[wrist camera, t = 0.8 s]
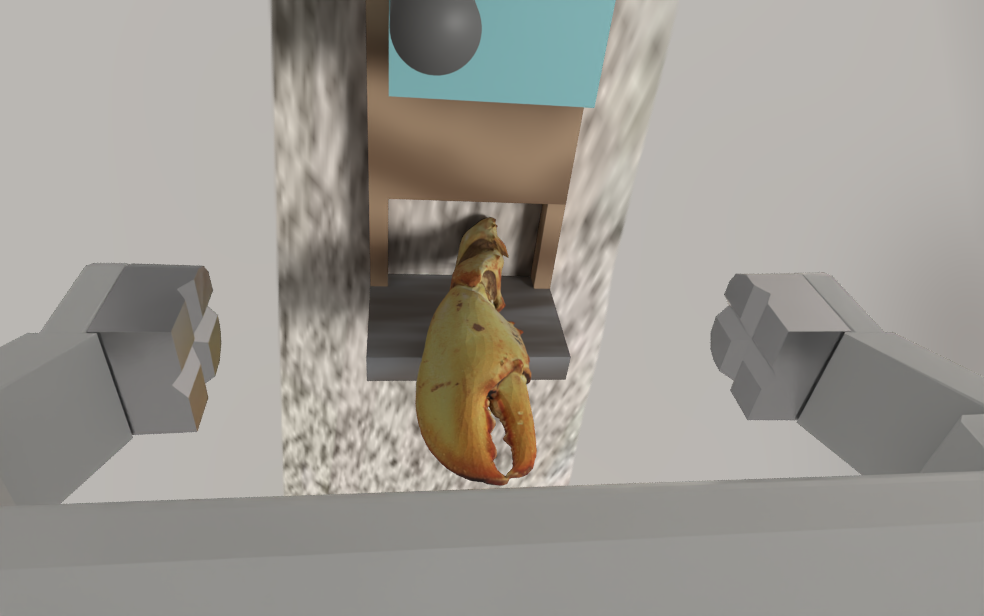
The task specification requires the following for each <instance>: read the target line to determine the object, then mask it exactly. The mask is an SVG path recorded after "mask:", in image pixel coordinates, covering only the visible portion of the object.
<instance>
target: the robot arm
mask: <svg viewBox="0 0 984 616" xmlns="http://www.w3.org/2000/svg"><path fill="white" fill-rule="evenodd" d="M212 292H213V289H212V285H211V281H210V276H209V272H208V271H207V270H206V269H205V267H204V266H190V265H160V264H127V263H93V264H90V265H86V266H85V268H84V269H83V270H82V272H81V273H80V275H79V276H78V278H77V279H76V280H75V282H74V283H73V285H72V286H71V288H70V289H69V291H68V292H67V294H66V295H65V297H64V298H63V299H62V301H61V303H60V304H59V305H58V307H57V308H56V310H55V311H54V313H53V314H52V315H51V317H50V318H49V320H48V321H47V323H46V324H45V326H44V327H43V329H42V330H41V332H40V333H27V334H25V335H23V336H21V337H19V338H17V339H15V340H13V341H11V342H9V343H7V344H5V345H3V346H2V347H0V616H984V377H983V376H981V375H979V374H977V373H975V372H973V371H971V370H969V369H967V368H965V367H963V366H961V365H958V364H956V363H955V362H953V361H951V360H948V359H946V358H944V357H942V356H940V355H938V354H936V353H934V352H932V351H930V350H928V349H926V348H924V347H922V346H920V345H918V344H916V343H914V342H912V341H910V340H908V339H906V338H904V337H901V336H900V335H898V334H896V333H893V332H884V331H883V330H882V329H881V328H880V327H879V326H878V325H877V324H876V322H875V321H874V320H873V319H872V318H871V317H870V316H869V315H868V314H867V313H866V312H865V311H864V310H863V308H862V307H861V306H860V305H859V304H858V303H857V302H856V301H855V300H854V299H853V298H852V297H851V296H850V295H849V293H848V292H847V291H846V290H845V289H844V288H843V287H842V286H841V285H840V284H839V283H838V282H837V281H836V280H835V278H834V277H833V276H831V275H829V274H826V273H824V272H815V273H791V274H790V273H786V274H785V273H784V274H735V276H734V277H733V278H732V279H731V280H730V282H729V284H728V287H727V289H726V291H725V294H724V295H725V297H726V299H727V302H728V304H729V306H728V307H727V308H725V309H724V310H723V311H722V312H721V313H720V314H718V315H717V316H716V318H715V321H714V324H713V327H712V330H711V352H712V356H713V360H714V362H715V364H716V366H717V367H718V369H719V371H720V372H722V373H723V374H725V375H726V376H728V377H729V378H731V379H732V380H734V382H733V384H732V387H731V392H732V394H733V396H734V398H735V399H736V401H737V403H738V404H739V406H740V408H741V409H742V411H743V413H744V415H745V417H746V418H747V420H798V421H797V423H798V424H799V425H800V426H802V427H803V428H804V429H805V430H807V431H808V432H809V433H810V434H812V435H813V436H814V437H815V438H817V439H818V440H819V441H820V442H822V443H823V444H824V445H825V446H827V447H828V448H829V449H830V450H832V451H833V452H834V453H835V454H837V455H838V456H839V457H840V458H841V459H843V460H844V461H845V462H846V463H848V464H849V465H850V466H851V467H853V468H854V469H855V470H856V471H858V472H859V473H860V474H861V476H832V477H803V478H777V479H776V478H774V479H747V480H746V479H744V480H717V481H689V482H659V483H658V482H657V483H629V484H601V485H577V486H547V487H521V488H494V489H467V490H440V491H413V492H385V493H357V494H329V495H301V496H273V497H245V498H217V499H189V500H161V501H133V502H108V503H107V502H105V503H77V504H61V503H62V502H63V501H64V500H65V499H66V498H67V497H68V496H69V495H70V494H71V493H73V492H74V491H75V490H76V489H77V488H78V487H79V486H80V485H81V484H83V483H84V482H85V481H86V480H87V479H88V478H89V477H90V476H91V475H93V474H94V473H95V472H96V471H97V470H98V469H99V468H100V467H101V466H102V465H104V464H105V463H106V462H107V461H108V460H109V459H110V458H111V457H112V456H114V454H116V453H117V452H118V451H119V450H120V449H121V448H122V447H123V446H125V445H126V444H127V443H128V442H129V441H130V440H131V439H132V438H133V436H132V435H139V434H140V435H141V434H161V433H183V432H197V431H198V428H199V425H200V422H201V419H202V415H203V412H204V409H205V406H206V403H207V400H208V395H207V390H206V385H205V383H206V382H208V381H209V380H211V379H212V378H213V377H215V375H216V372H217V368H218V365H219V361H220V351H221V331H220V324H219V319H218V315H217V314H216V313H215V312H214V311H213V310H212V309H210V308H209V307H208V306H207V305H208V302H209V299H210V297H211V294H212Z"/></svg>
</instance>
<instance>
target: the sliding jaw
mask: <svg viewBox="0 0 984 616" xmlns="http://www.w3.org/2000/svg"><path fill="white" fill-rule="evenodd" d="M615 1H616V0H389V96H393V97H411V98H428V99H446V100H464V101H481V102H499V103H517V104H534V105H552V106H570V107H588V108H594V107H595V102H596V96H597V91H598V86H599V81H600V76H601V71H602V66H603V61H604V56H605V51H606V46H607V41H608V36H609V31H610V26H611V21H612V16H613V11H614V6H615Z"/></svg>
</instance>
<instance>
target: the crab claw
mask: <svg viewBox="0 0 984 616" xmlns="http://www.w3.org/2000/svg"><path fill="white" fill-rule="evenodd" d="M495 221H496V219H494V218H492V217H489V218H486V219H483V220H481V221H480V222H478V223H477V224H476V225H475V226H473V227H472V228H471V229H469V230H468V231H467V232H466V233H465V235H464V236H463V237H462V240H461V243H460V246H459V252H458V257H457V261H456V267H455V270H454V272H453V275H452V279H451V285H450V290H449V292H448V294H447V295H446V296H445V298H444V299H443V300H442V302H441V303H440V305H439V306H438V308H437V310H436V311H435V313H434V315H433V317H432V320H431V323H430V326H429V329H428V332H427V337H426V342H425V348H424V352H423V356H422V362H421V363H420V366H419V371H418V376H417V382H416V413H417V419H418V424H419V427H420V430H421V434H422V437H423V439H424V441H425V443H426V445H427V447H428V448H429V450H430V451H431V453H432V454H433V455H434V456H435V457H436V458H437V459H438V461H439V462H440V463H441V464H442V465H444V466H445V467H446V468H447V469H449V470H450V471H452V472H453V473H455V474H456V475H458V476H461V477H463V478H465V479H468V480H470V481H477V482H484V483H486V484H490V485H505V484H507V483H508V481H509V479H510V478H520V477H523V476H525V475H527V474H528V473H529V472H530V471H531V470H532V469H533V466H534V461H535V458H536V451H537V450H536V438H535V429H534V421H533V416H532V411H531V406H530V401H529V395H528V391H527V386H526V384H528V383H529V382H530V380H531V371H530V369H529V362H530V358H529V356H528V354H527V352H526V348H525V345H524V343H523V340H522V338H521V336H520V335H521V334H522V333H524V332H523V331H522V330H519V329H517V328H515V327H514V326H513V325H514V324H515V322H511V321H507V320H506V319H505V318H504V317H503V316H502V315H501V314H500V313H499V312H500V311H501V310H502V309H503V308H504V307H505V306H506V305H505V303H504V299H503V298H502V295H501V292H500V291H501V272H502V268H503V264H504V259H503V255H504V256H506V257H507V258H508V254H507V250H506V246H505V245H504V243H503V242H502V241H501V240H500V238H499V237H498V236H497V228H496V227H497V225H496V224H495ZM488 407H489V408H490V410H491V411H490V410H489V409H488ZM491 412H492V413H493V415H494V416H495V417H497V418H499V419H500V422H502V425H503V427H504V428H505V429H504V430H505V434H506V435H505V436H504V438H503V440H504V441H505V442H506V443H507V444H508V445H509V446H510V447H511V451H512V459H513V463H512V464H513V468H512V469H511V470H510V471H509V472H508V473H507V475H506V476H504V475H503V474H501V473H500V472H499V471H498V470H497V469H496V467H495V464H494V462H493V460H494V459H495V458H496V457H497V450H496V447H495V444H494V443H493V442H492V436H491V434H490V433H491V432H492V431H493V429H494V427H495V424H496V421H495V420H494V418H493V417H492V416H491Z"/></svg>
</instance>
